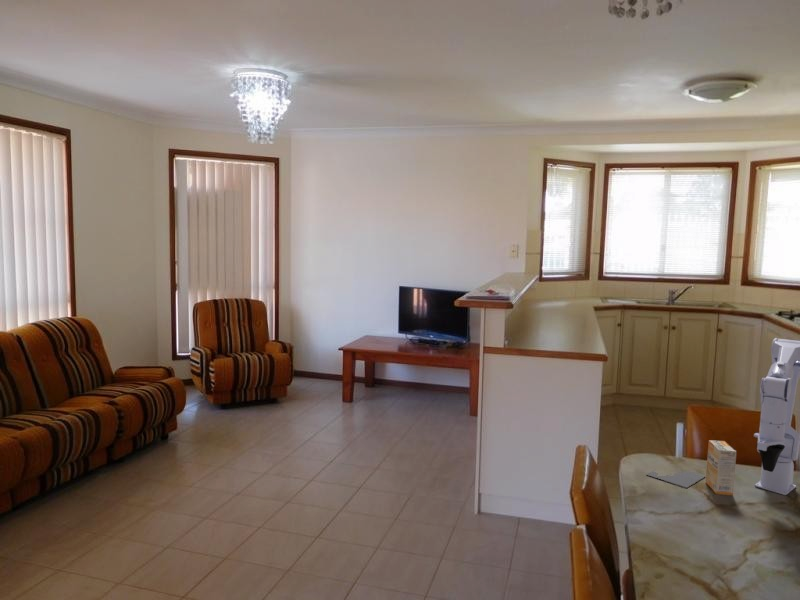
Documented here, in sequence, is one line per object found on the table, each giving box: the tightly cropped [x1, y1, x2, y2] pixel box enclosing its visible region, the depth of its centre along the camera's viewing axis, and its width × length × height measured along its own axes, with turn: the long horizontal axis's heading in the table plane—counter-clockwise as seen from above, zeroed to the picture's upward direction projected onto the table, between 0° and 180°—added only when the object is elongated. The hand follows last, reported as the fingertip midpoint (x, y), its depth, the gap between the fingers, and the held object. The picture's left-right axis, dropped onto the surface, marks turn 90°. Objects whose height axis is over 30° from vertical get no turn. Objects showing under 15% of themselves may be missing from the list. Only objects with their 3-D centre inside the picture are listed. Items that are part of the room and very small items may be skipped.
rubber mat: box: [645, 467, 706, 489], centre depth 178 cm, size 13×12×1 cm
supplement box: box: [705, 439, 737, 496], centre depth 169 cm, size 8×5×13 cm, turn 172°
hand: (768, 470), depth 160 cm, fingers closed
